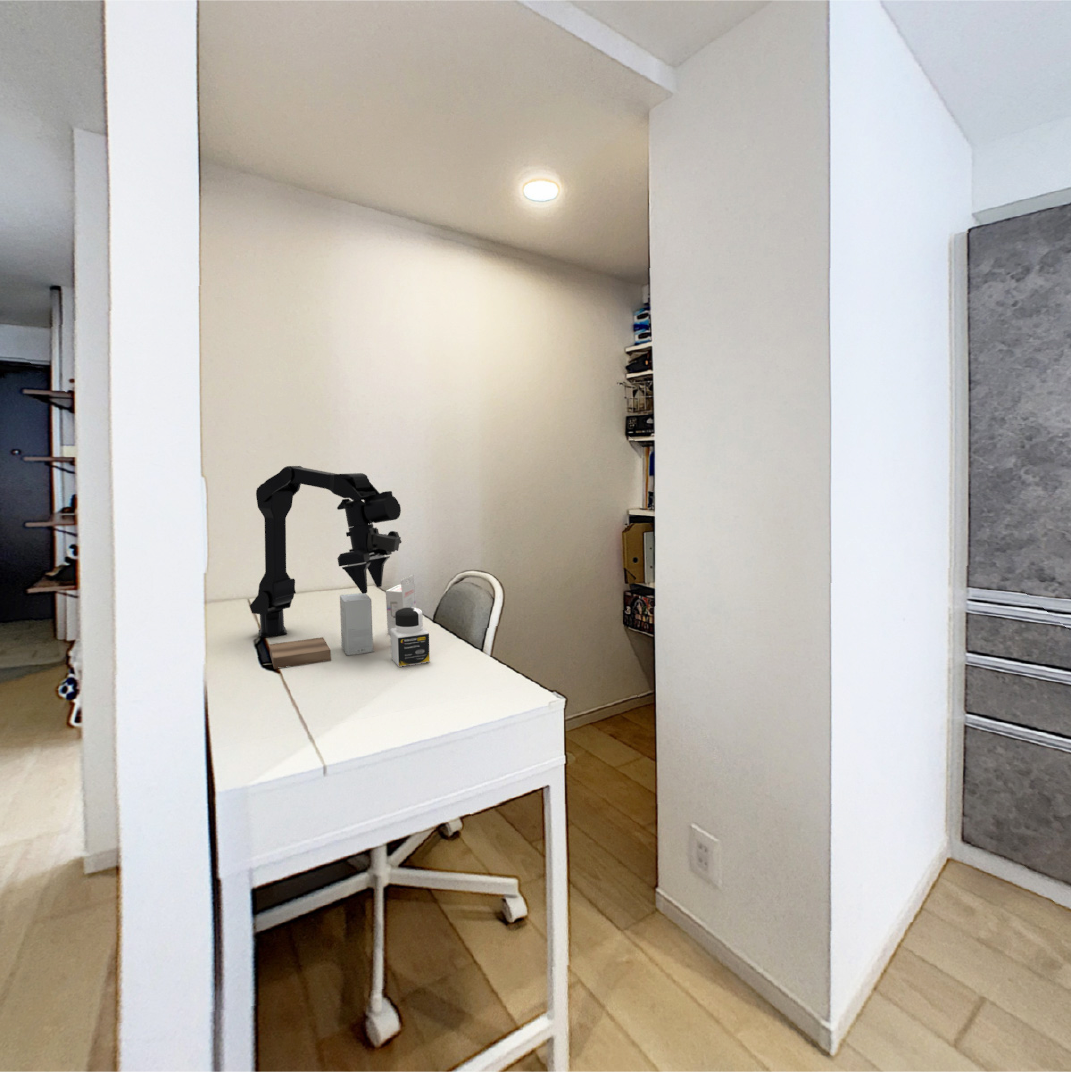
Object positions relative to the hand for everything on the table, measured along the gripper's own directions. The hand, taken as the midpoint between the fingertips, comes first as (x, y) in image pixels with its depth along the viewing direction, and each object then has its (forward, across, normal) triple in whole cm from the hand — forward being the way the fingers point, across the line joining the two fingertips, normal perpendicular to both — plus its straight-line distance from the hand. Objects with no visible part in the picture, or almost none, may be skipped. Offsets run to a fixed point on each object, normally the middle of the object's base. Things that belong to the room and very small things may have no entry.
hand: (372, 589), depth 143 cm
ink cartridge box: (+14, +17, +1) cm, 22 cm away
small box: (+14, 0, +6) cm, 15 cm away
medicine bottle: (+17, -6, -8) cm, 20 cm away
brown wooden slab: (+12, -7, +17) cm, 22 cm away
